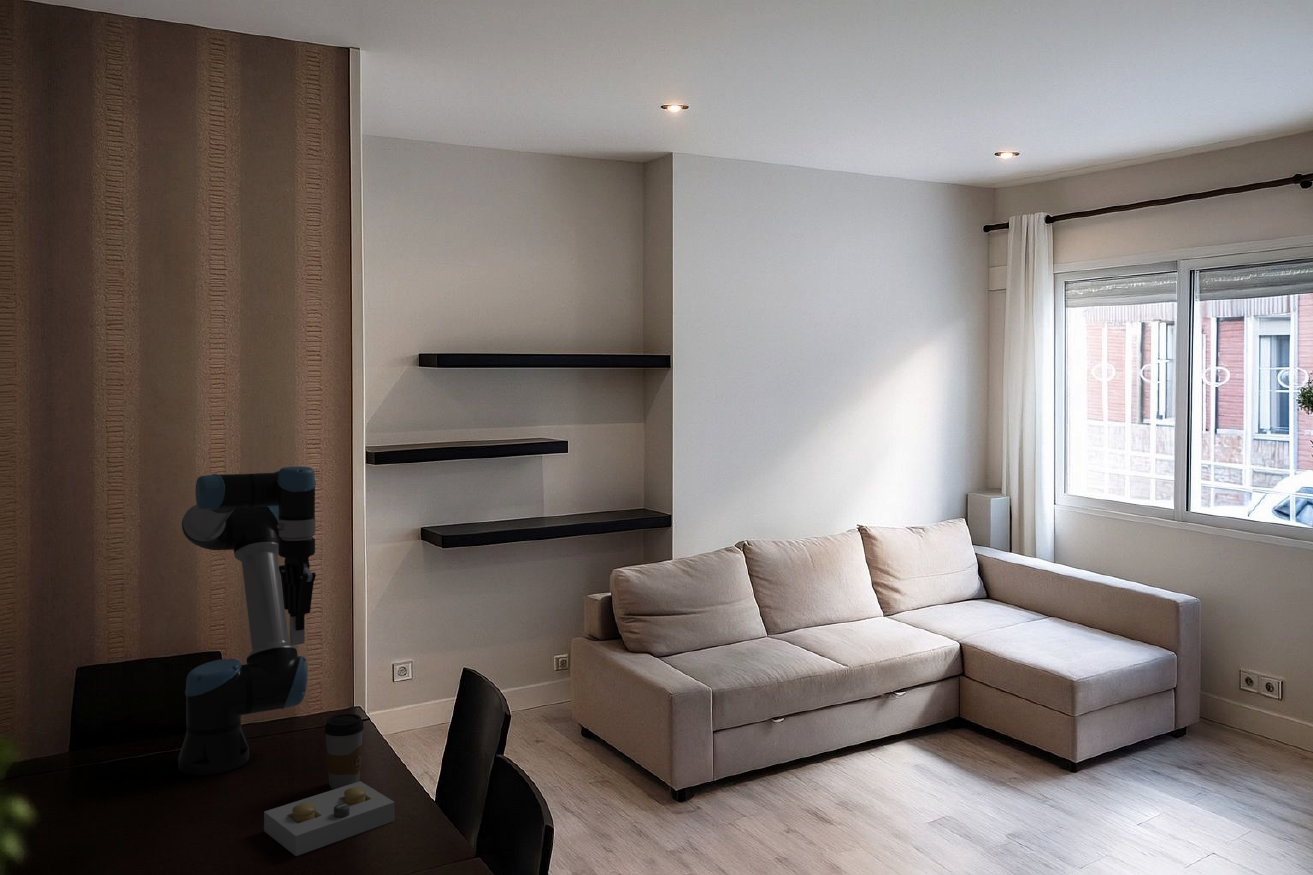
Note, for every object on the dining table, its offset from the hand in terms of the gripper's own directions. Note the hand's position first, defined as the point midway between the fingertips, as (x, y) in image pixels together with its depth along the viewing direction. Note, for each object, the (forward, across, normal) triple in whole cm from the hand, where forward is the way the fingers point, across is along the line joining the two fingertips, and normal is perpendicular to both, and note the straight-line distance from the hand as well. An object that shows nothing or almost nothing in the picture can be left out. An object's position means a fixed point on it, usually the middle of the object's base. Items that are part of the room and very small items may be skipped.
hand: (297, 643), depth 208 cm
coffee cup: (+33, +6, +8) cm, 34 cm away
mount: (+32, +22, -4) cm, 39 cm away
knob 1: (+31, +22, -9) cm, 39 cm away
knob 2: (+31, +22, +2) cm, 38 cm away
